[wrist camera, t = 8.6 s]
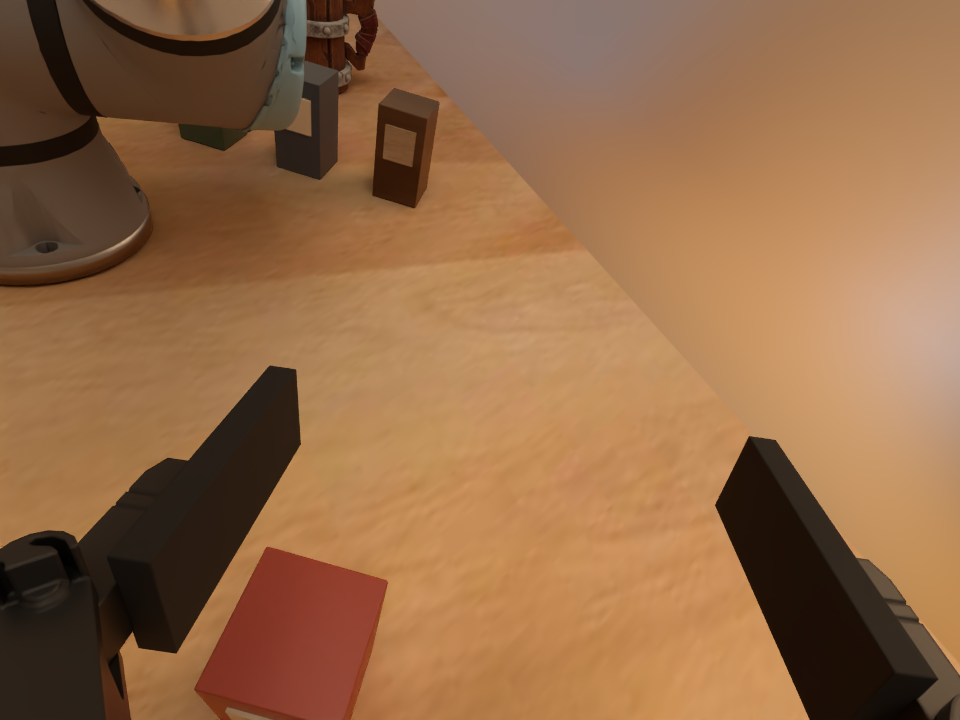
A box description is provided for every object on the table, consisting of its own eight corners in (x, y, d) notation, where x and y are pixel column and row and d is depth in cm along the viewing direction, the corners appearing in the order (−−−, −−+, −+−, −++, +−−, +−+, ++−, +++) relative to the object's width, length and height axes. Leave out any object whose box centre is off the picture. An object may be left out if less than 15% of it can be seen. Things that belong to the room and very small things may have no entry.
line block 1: (223, 151, 57) (209, 52, 50) (180, 138, 57) (159, 37, 50) (247, 133, 60) (236, 39, 53) (206, 121, 60) (190, 25, 53)
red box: (335, 767, 24) (339, 736, 17) (231, 738, 24) (190, 695, 17) (372, 647, 27) (388, 580, 20) (282, 622, 27) (266, 545, 20)
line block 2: (319, 180, 57) (318, 86, 50) (276, 167, 57) (268, 71, 50) (337, 161, 61) (338, 70, 54) (296, 148, 61) (292, 56, 53)
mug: (258, 56, 75) (270, -67, 66) (355, 85, 82) (378, -23, 72) (259, 89, 68) (271, -43, 58) (365, 118, 75) (392, 3, 65)
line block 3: (414, 208, 57) (427, 119, 50) (371, 195, 57) (377, 104, 50) (426, 188, 61) (439, 101, 54) (386, 175, 61) (394, 87, 54)
